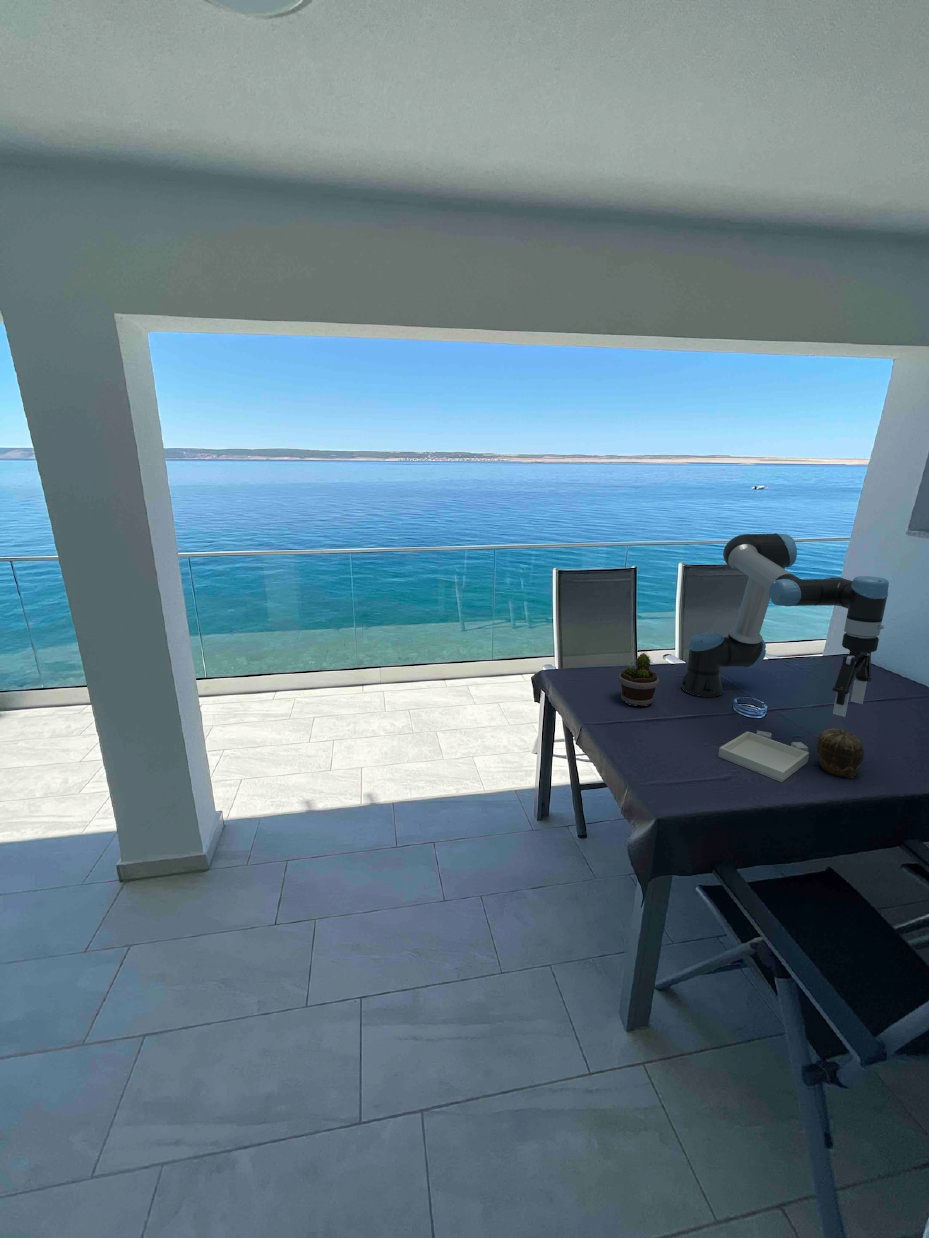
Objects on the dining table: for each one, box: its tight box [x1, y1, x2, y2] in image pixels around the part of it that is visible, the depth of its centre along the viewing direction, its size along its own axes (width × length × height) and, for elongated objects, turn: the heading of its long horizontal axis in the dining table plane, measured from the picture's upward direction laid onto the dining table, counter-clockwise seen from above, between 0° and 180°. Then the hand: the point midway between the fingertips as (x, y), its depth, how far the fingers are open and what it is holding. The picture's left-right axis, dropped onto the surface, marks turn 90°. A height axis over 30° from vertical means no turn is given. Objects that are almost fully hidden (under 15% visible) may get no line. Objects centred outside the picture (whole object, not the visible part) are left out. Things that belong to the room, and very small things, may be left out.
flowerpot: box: [617, 651, 660, 707], centre depth 190 cm, size 14×15×20 cm
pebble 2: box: [790, 741, 809, 752], centre depth 154 cm, size 4×3×2 cm
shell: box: [816, 727, 865, 779], centre depth 142 cm, size 11×11×12 cm
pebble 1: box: [756, 730, 772, 740], centre depth 162 cm, size 4×3×2 cm
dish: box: [717, 730, 810, 783], centre depth 150 cm, size 18×18×3 cm
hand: (848, 708), depth 139 cm, fingers open, 13 cm apart
